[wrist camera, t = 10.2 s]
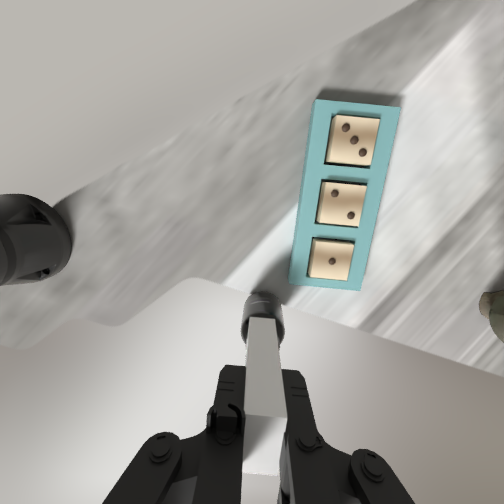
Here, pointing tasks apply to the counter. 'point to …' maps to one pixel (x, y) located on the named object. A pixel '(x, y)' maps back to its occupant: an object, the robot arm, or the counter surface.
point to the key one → (330, 259)
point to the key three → (352, 140)
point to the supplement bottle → (263, 313)
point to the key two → (340, 203)
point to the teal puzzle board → (317, 170)
